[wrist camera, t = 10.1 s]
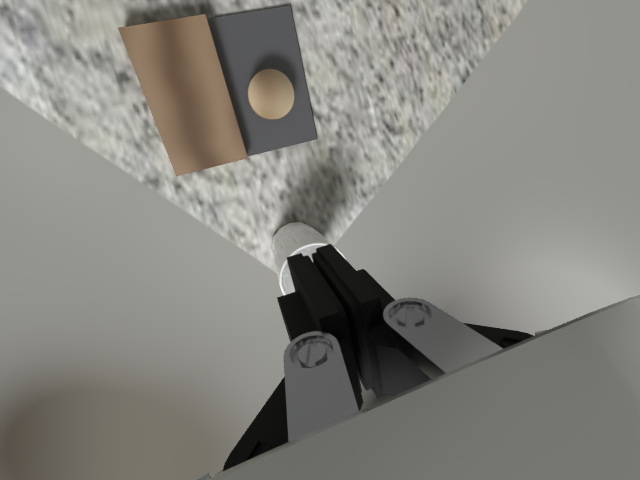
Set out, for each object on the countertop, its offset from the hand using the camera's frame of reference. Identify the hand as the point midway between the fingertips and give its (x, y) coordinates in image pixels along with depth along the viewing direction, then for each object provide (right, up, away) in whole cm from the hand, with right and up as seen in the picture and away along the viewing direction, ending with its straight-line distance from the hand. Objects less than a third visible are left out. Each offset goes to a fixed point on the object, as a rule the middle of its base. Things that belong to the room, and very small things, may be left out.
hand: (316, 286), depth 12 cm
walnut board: (-14, +17, +23) cm, 32 cm away
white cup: (-3, +1, +32) cm, 33 cm away
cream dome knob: (-6, +18, +25) cm, 31 cm away
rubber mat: (-6, +19, +24) cm, 32 cm away
